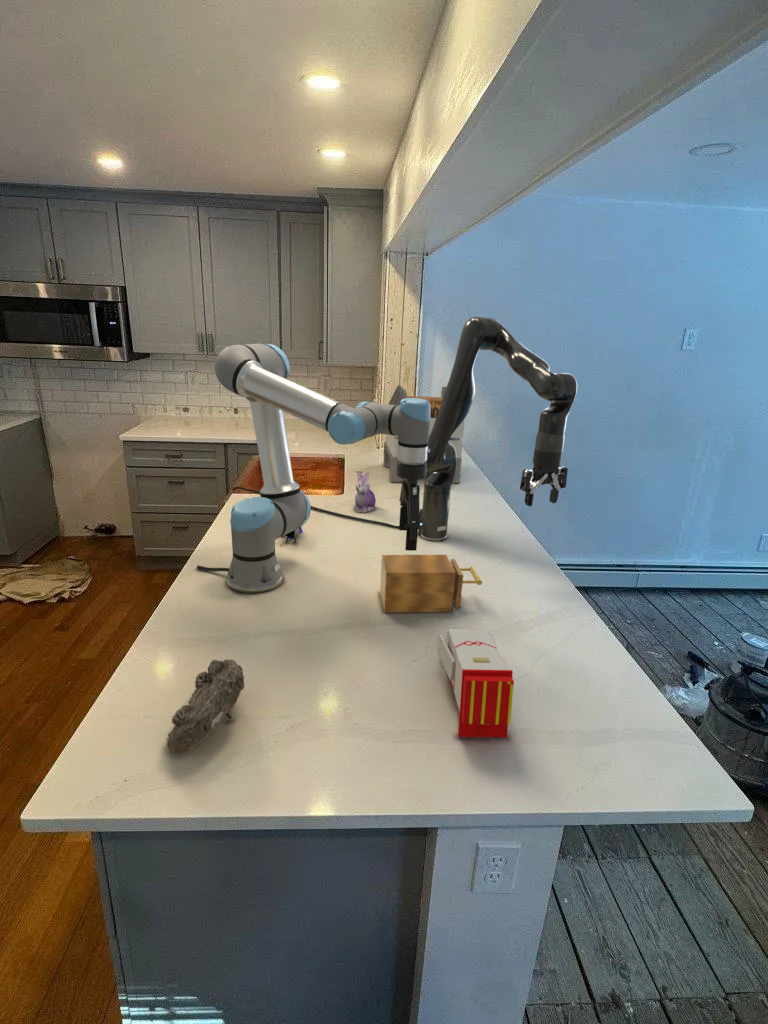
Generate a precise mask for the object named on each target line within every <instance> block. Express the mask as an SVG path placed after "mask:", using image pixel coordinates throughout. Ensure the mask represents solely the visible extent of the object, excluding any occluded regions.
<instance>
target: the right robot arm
mask: <svg viewBox="0 0 768 1024" xmlns="http://www.w3.org/2000/svg"><path fill="white" fill-rule="evenodd" d="M479 351H491V352H494V353H495V354H498V355H500V356H502V357H503V358H504V359H505V361H506V362H507V364H508V366H509V368H510V369H511V370H512V372H514V373H515V374H516V375H517V376H519V377H520V378H521V379H522V380H524V381H525V382H527V383H528V384H529V386H530V387H531V388H532V389H533V391H534V393H536V395H537V396H538V397H540V399H543V400H545V401H548V402H550V404H549V406H548V407H546V408H545V409H543V410H542V411H541V412H540V415H539V421H538V426H537V433H536V437H535V441H534V449H533V456H532V464H533V467H532V469H526V468H524V469H522V474H521V480H520V485H519V490H520V491H523V492H524V493H525V494H524V504H525V506H528V507H533V504H534V503H533V502H534V497H535V496H534V495H535V494H534V493H535V491H536V490H537V489H538V488H540V487H541V485H542V486H543V485H549V486H550V487H551V489H550V492H549V499H548V500H549V502H550V503H552V504H556V503H557V501H558V500H559V494H560V493H559V492H560V491H561V489H565V488H566V487H567V479H568V472H569V471H568V468H567V467H566V466H563V465H561V464H562V460H563V459H562V458H563V452H564V447H565V446H564V445H565V432H566V428H567V420H568V416H569V414H570V412H571V409H572V407H573V405H574V402H575V400H576V396H577V393H578V382H577V379H576V377H575V376H574V375H573V374H571V373H568V372H559V373H556V372H555V373H553V372H551V371H550V364H549V363H547V361H546V360H544V359H543V358H541V357H540V356H539V355H537V354H535V353H534V352H533V351H531V350H529V348H527V347H525V346H524V345H523V344H522V343H520V342H519V341H518V340H517V339H516V338H515V337H514V336H513V335H512V334H511V333H510V332H509V331H508V330H507V329H506V328H505V327H504V326H503V325H502V323H500V322H499V321H498V320H497V319H494V318H491V317H484V316H472V317H470V318H468V319H467V321H465V323H464V325H463V327H462V330H461V333H460V338H459V342H458V346H457V351H456V355H455V359H454V363H453V366H452V369H451V371H450V375H449V379H448V382H447V384H446V386H445V387H446V390H445V393H444V396H443V399H442V402H441V406H440V409H439V412H438V414H437V417H436V420H435V423H434V426H433V428H432V431H431V433H430V435H429V439H428V449H430V452H429V453H427V461H426V464H427V471H426V472H428V473H430V475H429V476H428V477H427V478H426V479H425V480H424V482H423V493H422V496H423V497H422V506H421V508H420V509H419V510H420V527H418V534H417V536H420V538H421V539H424V540H426V541H432V542H440V541H444V540H446V539H447V538H448V525H449V517H450V516H449V514H450V504H451V494H452V493H451V491H452V486H453V484H454V483H453V482H454V477H455V470H456V462H457V455H456V450H455V448H454V447H453V445H452V444H450V443H448V442H449V440H450V438H451V436H452V434H453V433H454V432H455V430H456V429H457V428H458V427H459V425H460V424H461V423H462V422H463V420H465V419H466V418H467V416H468V414H469V413H470V410H471V407H472V404H473V401H474V399H475V396H476V385H475V378H474V366H475V362H476V358H477V357H478V354H479ZM235 490H243V491H246V492H249V493H250V492H251V493H255V494H259V495H260V490H256V489H250V488H248V487H244V486H243V487H242V486H235V487H233V488H232V489H231V491H235ZM310 506H311V510H314V511H318V512H322V513H325V514H330V515H333V516H337V517H342V518H346V519H350V520H355V521H361V522H366V523H371V524H376V525H381V526H386V527H389V528H393V529H399V525H394V524H391V523H388V522H383V521H379V520H378V521H377V520H372V519H367V518H362V517H357V516H351V515H348V514H344V513H339V512H335V511H330V510H326V509H323V508H319V507H316V506H313V505H310Z"/></svg>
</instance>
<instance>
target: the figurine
mask: <svg viewBox="0 0 768 1024" xmlns="http://www.w3.org/2000/svg"><path fill="white" fill-rule="evenodd" d="M369 478H370V471H368V470H367V471H365V473H364V474H363V475H362V472H360V471H358V472H357V482H356V485H355V490H356V494H355V497H354V502H355V503H354V504H355V505H354V510H355V512H357V513H367V512H368V513H369V512H372V511H374V510H375V507H376V496H375V493H374V492H373V490H371V485H370V482H369Z"/></svg>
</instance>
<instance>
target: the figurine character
mask: <svg viewBox="0 0 768 1024" xmlns="http://www.w3.org/2000/svg"><path fill="white" fill-rule="evenodd" d="M302 526H303V525H302ZM302 526H301V527H300V528H298V529H297V530H294V531H292V532H290V533H288V534H286V535H284V536H282V537H280V539H284V542H285V543H288V541H289V540H293V543H294V544H296V543H297V539H298V540H299V538H300V536H301V534H302V533H303V532H304V531H303V527H302Z"/></svg>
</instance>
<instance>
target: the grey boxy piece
mask: <svg viewBox="0 0 768 1024" xmlns="http://www.w3.org/2000/svg"><path fill="white" fill-rule="evenodd" d="M446 387H447V386H442V387H441V392H440V393H441V394H440V396H415V395H414V396H413V395H412V396H411V395H407V394H408V393H407V390H406V389H404V388H403V387H402V385H399V384H398V385H397V386H396V388H395V390H394V392H393V394H392V395H391V398H390V400H389V402H388V403H387V404H389V405H398V406H399V405H400V402H401V400H402V399H405V398H419V399H425V400H427V401H428V402H429V403H430V418H431V421H430V428H429V435H430V433H431V431H432V428H433V426H434V423H435V420H436V417H437V414H438V412H439V409H440V406H441V402H442V399H443V396H444V393H445V390H446ZM464 429H465V419H464V420H463V422H462V423H461V424H460V425H459V427H458V428H457V429H456V430H455V432H454V433H453V434H452V436H451V438H450V440H449V442H448V443H450V444H452V445H453V447H454V448H455V450H456V455H457V462H456V470H455V477H454V482H453V484H455V483H456V484H459V483H461V472H462V461H463V460H462V453H463V442H464V441H463V440H462V439H463V438H464V431H465V430H464ZM397 452H398V436H393V435H387V434H385V438H384V442H383V466H384V467H388V468H389V475H388V476H389V477H388V478H389V480H390V482H391V483H402V480H403V479H402V478H400V477H398V476H397V462H398V461H399V460H398V459H397Z"/></svg>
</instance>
